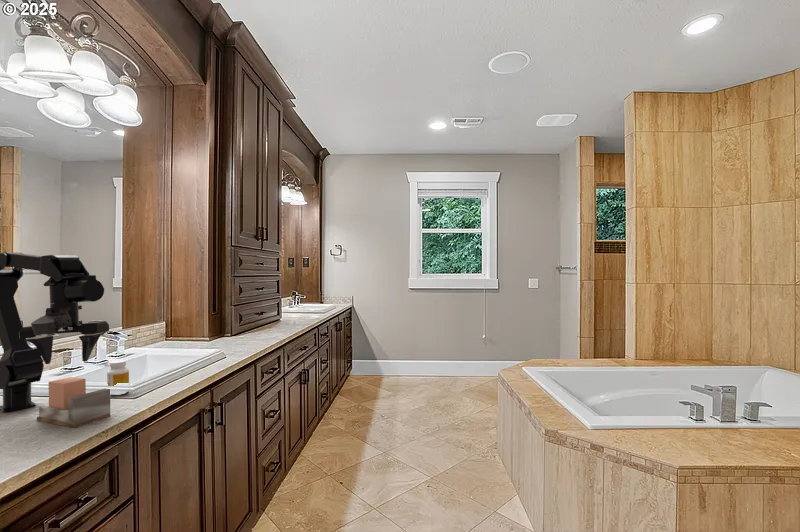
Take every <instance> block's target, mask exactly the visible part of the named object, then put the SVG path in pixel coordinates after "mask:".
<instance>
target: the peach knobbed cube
mask: <svg viewBox="0 0 800 532" xmlns="http://www.w3.org/2000/svg"><path fill="white" fill-rule="evenodd" d="M86 383H87V381H86V378H82V377H73V376H69V377H64V378H59V379H55V380H51V381H48V407H52V408H58V409H63V410H69V406H68V398H71V397H75V396H79V395H83V394H86V392H87V389H86V388H87V387H86V385H87V384H86Z"/></svg>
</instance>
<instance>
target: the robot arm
mask: <svg viewBox="0 0 800 532" xmlns="http://www.w3.org/2000/svg"><path fill="white" fill-rule="evenodd" d="M10 268H12V269H10ZM23 269H26V270H33V271H38V272H39V273H40V274H41V275H42V276H43V275H44V276H45V277H49V279H48V280H47V281H45V282H44V283H43V287H49V307H46V309H45V313H44V314H45V315H43V316H40V317H39V318H37V319H35V320H34V321H32V322H31V323H30V326H29V325H28V326H23V324H22V321H21V317H20V313H19V311H18V307H17V304H16V300H15V295H16V293H17V291H18V288H19V281H20V280H21V278H22V277H23V276H24V272H23ZM104 294H105V287H104V285H103V284H102V282H101V281H99V280H98V279H97V276H96V274H93V275H92V274H90V273H89V271H88V270H87V269H86V267H85V266H84V264H83V262H82V261H81V260H80V257H79V256H78V255H74V254H73V255H71V254H69V255H68V254H48V255H35V254H29V253H28V254H25V253H23V252H10V251H9V252H8V251H5V252H1V253H0V343H1V346H2V350H3V353H2V355H1V356H0V357H1V358H0V390H2V405H0V409H1V410H2V411H1V410H0V411H1V412H3V413H7V412H6V411H9V412H13V410H14V411H17V410H23V409H29V408H31V407H36V405H37V404H36V403H35V402H34V401H33V400H32V383H37V382H40V381H41V380H42V379H41V378H42V375H43V372H44V366H45V365H50V364H51V362H52V361H51V360H52V358H53V357H52V355H53V354H52V353H53V344H54V335H55V334H69V333H70V334H71V333H80V334H81V335H80V336H78V338H79V340H80V341H81V346H82V347H81V349H82V351H81V354H82V355H81V356H82V361H83V362H84V363H86V362H88V361H89V358H90V356H91V354H92V352H93V350H94V347H95V346H96V344H97V342H98V341H99V339H100V338H101V336H104V335H105V333H106V332H109V331H110V324H109V323H108V322H107V320H101V321H99V320H98V321H90V322H89V321H88V322H84V323H83V320H80V316H79V313H80V312H79V310H83V307H82V306H83V305H79V303H89V302H90V303H91V302H92V303H93V302H98V301H99V300H101V299H102V298H103V296H104ZM28 342H29V343H31V344H32V345H34V346H35V348H33V347H32V346H30V345H29V344H28ZM44 364H45V365H44Z"/></svg>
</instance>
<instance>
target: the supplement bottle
mask: <svg viewBox="0 0 800 532" xmlns="http://www.w3.org/2000/svg"><path fill="white" fill-rule="evenodd" d="M126 365H127V361H126V360H125V359H124V360H123V359H120V360H114V361H110V362H109V368H110V369H108V371H107V373H106V375H107V376H106V377H107V380H106V381H107V382H106V384H108V386H114V385H116V384H117V383H129V384H130V369H129V367H126Z"/></svg>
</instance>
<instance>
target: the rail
mask: <svg viewBox="0 0 800 532" xmlns="http://www.w3.org/2000/svg"><path fill="white" fill-rule="evenodd" d="M68 406H69V410H63V409H58V408H52V407H49V406H45V405H41V406H39V407H38V416H37V417H36V421H37V422H42V423H47V424H52V425H56V426H61V427H67V428H72V429H75V428H79V427H83V426H85V425H88V424H90V422H91V423H94V422H96V420H97V421H100V420H103V419H107V418H110V417H111V396H110V389H107V388H101V389H98V390H95V391H91V392H88V393H86V394H83V395H79V396H75V397H71V398H68ZM93 421H94V422H93ZM84 424H85V425H84Z"/></svg>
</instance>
